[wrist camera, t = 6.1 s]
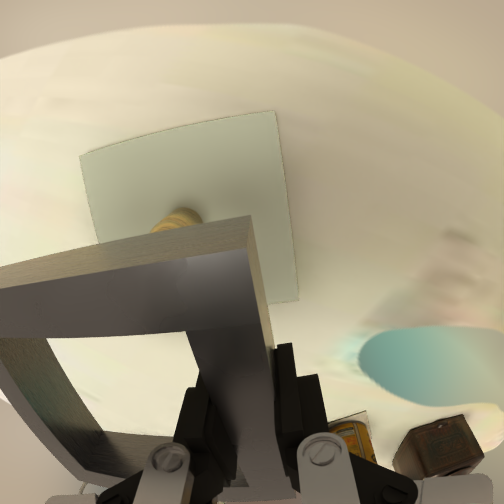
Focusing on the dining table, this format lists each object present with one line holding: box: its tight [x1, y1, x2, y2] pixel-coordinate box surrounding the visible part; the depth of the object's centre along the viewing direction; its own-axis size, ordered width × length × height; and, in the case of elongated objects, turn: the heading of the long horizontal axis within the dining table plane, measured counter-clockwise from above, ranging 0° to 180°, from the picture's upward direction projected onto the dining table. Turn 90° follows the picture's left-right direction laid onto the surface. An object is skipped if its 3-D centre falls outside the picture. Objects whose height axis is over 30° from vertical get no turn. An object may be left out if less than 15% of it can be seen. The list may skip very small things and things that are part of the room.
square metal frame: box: [0, 215, 296, 502], centre depth 10 cm, size 12×12×3 cm
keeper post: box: [150, 207, 203, 233], centre depth 20 cm, size 3×3×6 cm
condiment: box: [328, 411, 377, 464], centre depth 28 cm, size 7×8×12 cm
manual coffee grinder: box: [392, 415, 484, 480], centre depth 27 cm, size 16×11×18 cm
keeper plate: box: [79, 111, 299, 305], centre depth 24 cm, size 16×15×2 cm
